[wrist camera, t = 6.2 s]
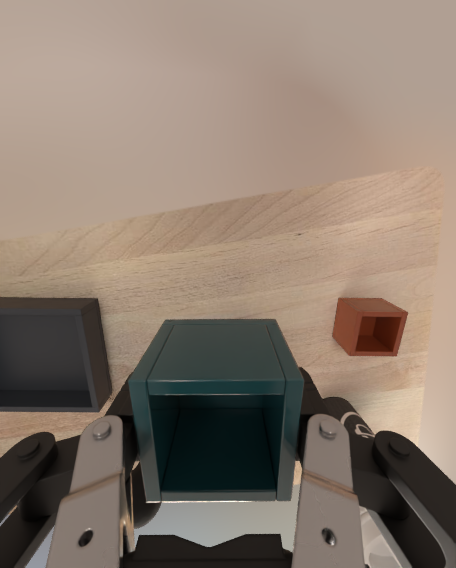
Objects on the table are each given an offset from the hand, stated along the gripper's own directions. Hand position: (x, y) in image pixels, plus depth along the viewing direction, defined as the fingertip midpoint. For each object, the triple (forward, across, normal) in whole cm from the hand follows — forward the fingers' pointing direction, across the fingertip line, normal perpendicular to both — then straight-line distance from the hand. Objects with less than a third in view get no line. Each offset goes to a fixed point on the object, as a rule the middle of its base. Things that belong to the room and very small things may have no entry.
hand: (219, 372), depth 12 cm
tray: (+18, +25, +9) cm, 32 cm away
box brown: (+18, -18, +5) cm, 25 cm away
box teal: (+1, 0, 0) cm, 1 cm away
